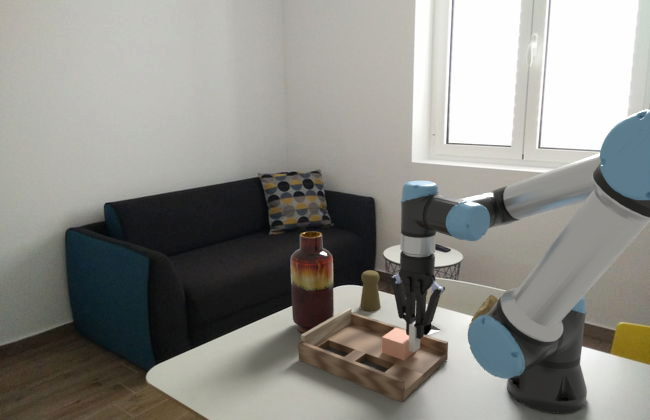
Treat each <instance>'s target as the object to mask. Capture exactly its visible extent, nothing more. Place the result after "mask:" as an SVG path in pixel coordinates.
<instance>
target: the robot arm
mask: <svg viewBox="0 0 650 420" xmlns="http://www.w3.org/2000/svg"><path fill="white" fill-rule="evenodd" d="M439 193H440V192H439V187H438V184H437V183H435V182H433V181H429V180H413V181H412V180H411V181H410V180H409V181H407V182H405V183H404V184H403V186H402V192H401V200H400V203H401V205H400V206H401V213H400V214H401V215H400V217H401V218H400V219H401V220H400V246H399V248H400V250H401V251H400V253H399V254H400V255H399V267H400V269H399V271H398V274H397V273H396V274H394V275H392V276H390V277H389V281H390V284H391V285H392V288H393V294H394V298H395V304H396V310H397V315H398V317H399V319H403V320H404V321H405V329H406V334H407V335H409V351H411V352H415V351H417V350H418V349H419V348H420V339H421V338H422V337H423V336H424V326H427V325H429V324H430V323H431V324H432V322H433V321H434V320H433V319H434V318H435V315H436V314H435V313H436V310H437V309H438V305H439V302H440V298H441V295H443V293H444V292H445V290H446V287H445V286H444V285H440V284H439V283H438V282H437V281H436V276H435V274H434V273H435V264H436V254H435V253H434V252H436V238H437V234H436V233H440V234H443V235H446V236H449V237H452V238H454V239H458V240H461V241H468V242H478V241H479V240H481V239H482V237H483V236H485V235H486V233H487V232H488V229H493V228H497V227H500V226H504V225H510V224H512V223H515V222H518V221H521V220H523V219H527V218H528V219H529V218H532V217H536V216H539V215H543V214H548V213H550V212H554V211H558V210H562V209H565V208H568V207H572V206H576V205H580V204H581V206H580V207H579V208H578V209H577V211H576V212H575V214H574V215H573V216H572V218H570V220H569V221H568V223H567V224H566V225H565V227H564V228H563V229H562V230H561V232H560V233H559V234H558V235H557V238H555V240H554V241H553V242H552V244H551V245H550V247H549V248H548V249H547V250H546V252H545V253H544V254H543V256H542V257H541V258H540V260H539V261H538V262H537V263H536V264H535V266H534V267H533V269H532V270H531V271H530V272H529V274H528V275H527V276H526V278H525V279H524V281H522V283H521V284H520V285H519V287H513V288H509V289H506V291H504V292H503V293H502V294H501V296H500V297H499V299H498V301H497V302H496V304H495V305H494V306H493V308H492V309H491V310H490V311H489V312H488V313H487V314H485V315H480V316H478V317H477V318H476V319H475V320H473V321H472V323H471V322H470V323H471V324H470V323H469V325H470V326H469V325H468V329H467V341H468V344H469V346H470V347H469V349H470V352H471V355H473V358H474V359H475V361H476V362H477V363H478V364H479V366H480V367H481V368H482V369H483V370H484V371H486V373H488V374H490V375H491V376H494V377H497V378H500V379H503V380H506V379H507V383H506V384H507V385H506V387H507V390H508V392H509V394H510V395H511V396H512V397H513V398H514V399H515V400H517V401H518V402H519V403H521V404H523V405H525V406H527V407H529V408H531V409H534V410H538V411H542V412H545V413H550V414H551V413H552V414H569V413H571V414H572V413H574V412H578V411H579V410H582V408H584V406H585V405H586V403H587V394H588V388H587V384H586V381H585V378H584V374H583V369H582V366H581V358H582V357H581V356H582V349H583V340H584V339H583V338H584V331H585V323H586V315H587V313H588V312H587V311H586V309H587V299H586V297H585V295H586V294H587V293H588V292H589V290H591V288H593V286H594V285H595V284H596V282H598V281H599V280H600V278H601V277H602V276H603V275H604V274H605V273H606V271H607V270H609V268H611V266H612V265H613V263H614V262H616V260H617V259H618V258H619V257H620V255H621V254H622V253H623V252H624V251H625V250H626V249H627V248H628V247H629V245H630V244H631V243H633V241H634V240H635V239H636V237H637V236H639V234H640V233H641V232H642V231H643V230H644V229H645V228H646V227H647V226H648V224H649V223H650V108H646V109H644V110H641V111H638V112H637V113H636V112H635V113H634V114H631V115H629V116H626V117H625V118H624V119H622V120H620V121H619V122H618V123H617V124H616V125H614V127H613V128H612V129H611V130H609V132H608V133H607V135H606V137H605V138H604V140H603V142H602V144H601V147H600V150H599V153H596V154H593V155H591V156H588V157H586V158H582V159H580V160H579V159H578V160H577V161H574V162H572V163H568V164H566V165H563V166H559V167H557V168H554V169H552V170H548V171H546V172H542V173H540V174H537V175H534V176H532V177H528V178H525V179H523V180H520V181H517V182H514V183H512V184H509V185H506V186H502V187H500V188H497V189H494V190H491V191H487V192H483V193H479V194H472V195H468V196H462V197H457V198H456V197H450V196H444V195H441V194H439ZM430 288H431V291H430V292H431V295H430V296H429V301H428V303H427V295H428V291H429V289H430ZM414 319H416V320H415V321H414Z"/></svg>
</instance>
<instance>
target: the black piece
mask: <svg viewBox="0 0 650 420" xmlns="http://www.w3.org/2000/svg"><path fill="white" fill-rule="evenodd" d="M415 320H416V319H414V321H415ZM438 332H442V329H440V328H438V327H437V326H435V325H433V324H432V322H431V323H430V324H429V325H427V326H424V335H427V336H430V335H432V334H436V333H438Z"/></svg>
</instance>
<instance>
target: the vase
mask: <svg viewBox="0 0 650 420" xmlns="http://www.w3.org/2000/svg"><path fill="white" fill-rule="evenodd" d="M323 245H324V244H323V233H322V232H319V231H305V232H301V233H300V234H299V249H296V250H295V251H294V252H293V253H292V255H291V256H290V283H291V284H290V285H291V310H292V320H293V322H294V324H296V330H297V332H298V333H300V334H301V335H302V334H303V333H305V332H307V331H309V330H310V329H312V328H314V327H316V326H318V325H319V324H321V323H323V322H325V321H326V320H328V319H330V318H332V317H333V316H335V314H334V312H335V310H334V305H335V304H334V303H335V302H334V262H333V261H334V259H333V254H332V253H331V252H330V251H329V250H327V248H324V246H323Z"/></svg>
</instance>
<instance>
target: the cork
mask: <svg viewBox="0 0 650 420" xmlns="http://www.w3.org/2000/svg"><path fill="white" fill-rule="evenodd" d="M361 282H362V290H361V295H360V296H361V297H360V305H359V308H360V310H362V311H364V312H368V313H370V312H372V313H373V312H377V311H380V310H381V308H382V307H381V301H380V300H381V299H380V293H379V282H380V275H379V272H377V271H376V270H371V269H370V270H369V269H368V270H365V271H363V272H362V273H361Z"/></svg>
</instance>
